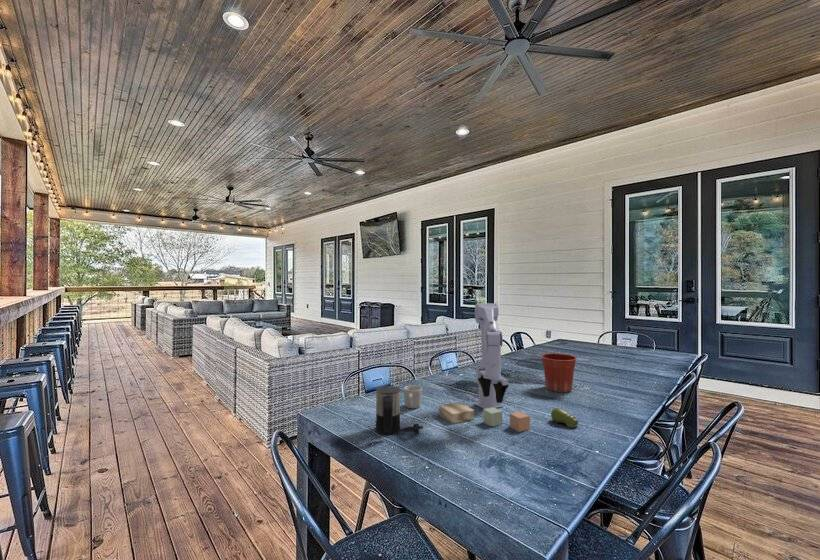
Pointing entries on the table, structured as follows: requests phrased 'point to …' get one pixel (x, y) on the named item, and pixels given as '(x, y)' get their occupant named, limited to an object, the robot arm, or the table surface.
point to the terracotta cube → (520, 421)
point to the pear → (564, 417)
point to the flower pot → (559, 371)
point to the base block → (456, 412)
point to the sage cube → (492, 416)
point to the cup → (412, 396)
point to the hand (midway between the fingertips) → (492, 399)
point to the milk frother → (389, 411)
